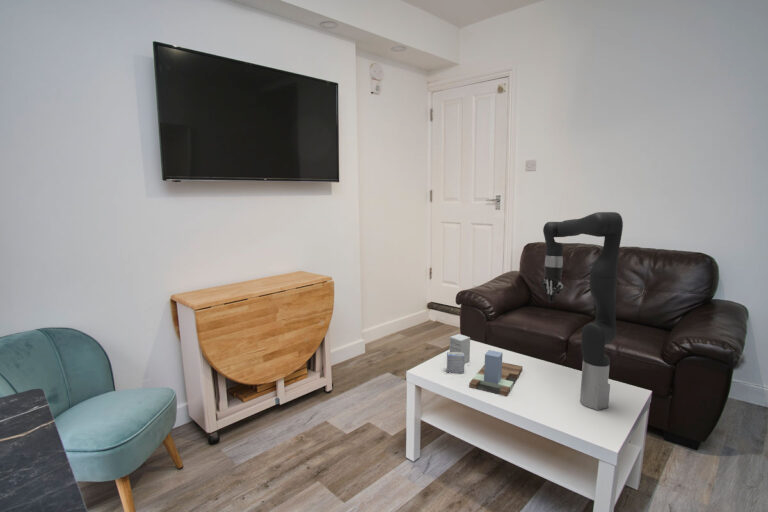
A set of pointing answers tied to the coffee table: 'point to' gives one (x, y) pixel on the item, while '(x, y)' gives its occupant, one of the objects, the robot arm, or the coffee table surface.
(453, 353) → the medicine box
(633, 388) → the coffee table surface
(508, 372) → the deck
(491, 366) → the block
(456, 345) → the supplement box
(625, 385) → the coffee table surface
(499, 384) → the pad
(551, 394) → the coffee table surface
